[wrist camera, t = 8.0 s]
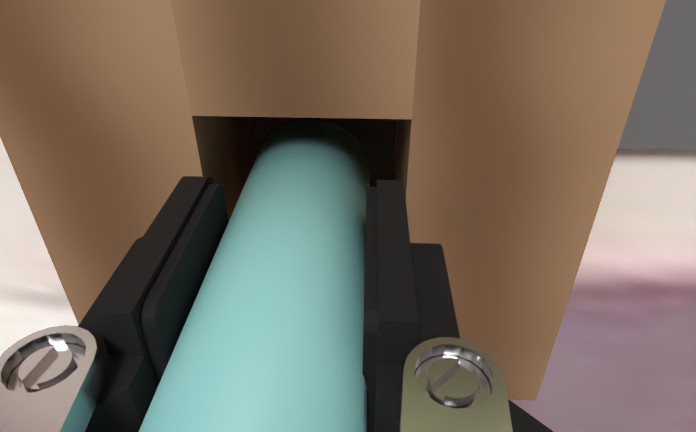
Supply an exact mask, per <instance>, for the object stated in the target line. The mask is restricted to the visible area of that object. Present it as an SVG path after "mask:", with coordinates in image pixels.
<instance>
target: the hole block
mask: <svg viewBox="0 0 696 432" xmlns="http://www.w3.org/2000/svg"><path fill="white" fill-rule="evenodd" d="M665 2H666V0H0V137H1V139H2V142H3V144H4V147H5V149H6V151H7V154H8V156H9V159H10V161H11V163H12V166H13V168H14V171H15V173H16V175H17V178H18V180H19V183H20V185H21V187H22V190H23V192H24V195H25V197H26V199H27V202H28V204H29V207H30V209H31V211H32V214H33V216H34V219H35V221H36V223H37V226H38V228H39V231H40V233H41V235H42V238H43V240H44V243H45V245H46V247H47V250H48V252H49V255H50V257H51V259H52V262H53V264H54V267H55V269H56V271H57V274H58V276H59V279H60V281H61V283H62V286H63V288H64V291H65V293H66V295H67V298H68V300H69V303H70V305H71V307H72V310H73V312H74V315H75V317H76V319H77V322H78V324H80V322H81V321H82V319H83V318H84V316H85V315H86V313H87V312H88V310H89V309H90V307H91V306H92V304H93V303H94V301H95V300H96V298H97V297H98V295H99V294H100V292H101V291H102V289H103V288H104V286H105V285H106V283H107V282H108V281H109V279H110V278H111V276H112V275H113V273H114V272H115V270H116V269H117V267H118V266H119V264H120V263H121V261H122V260H123V258H124V257H125V255H126V254H127V252H128V251H129V249H130V248H131V246H132V245H133V243H134V242H135V241H136V240H137V239H138V238H140V237H143V236H144V234H145V233H146V231H147V230H148V228H149V227H150V225H151V224H152V222H153V220H154V219H155V217H156V216H157V214H158V213H159V211H160V210H161V208H162V207H163V205H164V204H165V202H166V201H167V199H168V198H169V196H170V195H171V193H172V192H173V190H174V188H175V187H176V185H177V184H178V182H179V181H180V179H181V178H182V177H183V176H200V177H212V178H213V180H214V183H215V184H221V185H222V186H223V189H224V195H225V201H226V208H227V214H228V220H230V218H231V215H232V213H233V211H234V208H235V206H236V204H237V201H238V199H239V197H240V194H241V192H242V190H243V187H244V185H245V183H246V180H247V178H248V176H249V173H250V171H251V169H252V166H253V164H254V162H255V160H256V149H255V140H254V131H253V122H252V117H294V118H355V119H397V125H396V142H395V160H394V178H393V180H403V181H404V189H405V199H406V208H407V218H408V227H409V237H410V243H435V244H441V245H442V248H443V252H444V257H445V262H446V267H447V273H448V278H449V283H450V288H451V293H452V298H453V304H454V309H455V314H456V319H457V324H458V329H459V335H460V339H463V340H467V341H469V342H471V343H473V344H476V345H478V346H480V347H481V348H483V349H484V350H485V351H486V352H488V353H489V354H490V355H492V356H493V358H494V359H495V360H496V362H497V363H498V364H499V366H500V367H501V370H502V373H503V376H504V379H505V384H506V390H507V397H508V399H515V400H536V397H537V394H538V391H539V388H540V385H541V382H542V379H543V375H544V372H545V369H546V366H547V363H548V360H549V357H550V354H551V351H552V348H553V345H554V342H555V339H556V336H557V333H558V330H559V327H560V323H561V320H562V317H563V314H564V311H565V308H566V305H567V302H568V299H569V296H570V293H571V290H572V287H573V284H574V281H575V278H576V274H577V271H578V268H579V265H580V262H581V259H582V256H583V253H584V250H585V247H586V244H587V241H588V238H589V235H590V232H591V229H592V225H593V222H594V219H595V216H596V213H597V210H598V207H599V204H600V201H601V198H602V195H603V192H604V189H605V186H606V183H607V180H608V176H609V173H610V170H611V167H612V164H613V161H614V158H615V155H616V152H617V149H618V146H619V143H620V140H621V137H622V134H623V131H624V128H625V124H626V121H627V118H628V115H629V112H630V109H631V106H632V103H633V100H634V97H635V94H636V91H637V88H638V85H639V82H640V79H641V75H642V72H643V69H644V66H645V63H646V60H647V57H648V54H649V51H650V48H651V45H652V42H653V39H654V36H655V33H656V30H657V26H658V23H659V20H660V17H661V14H662V11H663V8H664V5H665Z"/></svg>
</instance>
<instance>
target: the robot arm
mask: <svg viewBox="0 0 696 432" xmlns="http://www.w3.org/2000/svg"><path fill="white" fill-rule="evenodd" d="M228 222H229V220H228V214H227V208H226V201H225V195H224V189H223V186H222V185H221V184H215V183H214V180H213V178H212V177H200V176H183V177H182V178H181V179H180V181H179V182H178V184H177V185H176V187H175V188H174V190H173V192H172V193H171V195H170V196H169V198H168V199H167V201H166V202H165V204H164V205H163V207H162V208H161V210H160V211H159V213H158V214H157V216H156V217H155V219H154V220H153V222H152V224H151V225H150V227H149V228H148V230H147V231H146V233H145V234H144V236H143V237H140V238H138V239H137V240H136V241H135V242H134V243H133V245H132V246H131V248H130V249H129V251H128V252H127V254H126V255H125V257H124V258H123V260H122V261H121V263H120V264H119V266H118V267H117V269H116V270H115V272H114V273H113V275H112V276H111V278H110V279H109V281H108V282H107V283H106V285H105V286H104V288H103V289H102V291H101V292H100V294H99V295H98V297H97V298H96V300H95V301H94V303H93V304H92V306H91V307H90V309H89V310H88V312H87V313H86V315H85V316H84V318H83V319H82V321H81V322H80V324H79V325H78V327H77V326H58V327H51V328H47V329H44V330H41V331H38V332H35V333H32V334H31V335H29V336H27V337H25V338H23V339H21V340H19V341H18V342H16V343H15V344H14V345H12V346H11V347H10V348H8V349H7V350H6V351H4V353H3V354H2V355H1V356H0V432H139V430H140V427H141V425H142V423H143V420H144V418H145V416H146V413H147V411H148V409H149V406H150V404H151V402H152V399H153V397H154V395H155V392H156V390H157V388H158V385H159V383H160V381H161V378H162V376H163V374H164V371H165V369H166V367H167V364H168V362H169V360H170V357H171V355H172V353H173V350H174V348H175V346H176V343H177V341H178V339H179V336H180V334H181V332H182V329H183V327H184V325H185V322H186V320H187V318H188V315H189V313H190V311H191V308H192V306H193V304H194V302H195V299H196V297H197V295H198V292H199V290H200V288H201V285H202V283H203V281H204V278H205V276H206V274H207V271H208V269H209V267H210V264H211V262H212V260H213V257H214V255H215V253H216V250H217V248H218V246H219V243H220V241H221V239H222V236H223V234H224V232H225V229H226V227H227V225H228ZM362 374H363V376H364V378H365V382H366V386H367V432H553V431H552V430H550V429H549V428H548V427H546V426H545V425H543V424H542V423H541V422H539V421H538V420H536V419H535V418H534V417H532V416H531V415H529V414H528V413H527V412H525V411H524V410H522V409H521V408H520V407H518V406H517V405H516V404H514V403H513V402H511V401H510V400H509V399H508V397H507V390H506V384H505V379H504V376H503V373H502V370H501V367H500V366H499V364H498V363H497V362H496V360H495V359H494V358H493V356H492V355H490V354H489V353H488V352H486V351H485V350H484V349H483V348H481V347H480V346H478V345H476V344H473V343H471V342H469V341H467V340H463V339H460V335H459V329H458V324H457V319H456V314H455V309H454V304H453V298H452V293H451V288H450V283H449V278H448V273H447V267H446V262H445V257H444V252H443V248H442V245H441V244H435V243H410V237H409V227H408V218H407V208H406V199H405V189H404V181H403V180H377V187H366V230H365V276H364V323H363V370H362Z"/></svg>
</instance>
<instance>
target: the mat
mask: <svg viewBox="0 0 696 432" xmlns="http://www.w3.org/2000/svg"><path fill="white" fill-rule="evenodd" d="M618 149H648V150H696V0H666V2H665V5H664V8H663V11H662V14H661V17H660V20H659V23H658V26H657V30H656V33H655V36H654V39H653V42H652V45H651V48H650V51H649V54H648V57H647V60H646V63H645V66H644V69H643V72H642V75H641V79H640V82H639V85H638V88H637V91H636V94H635V97H634V100H633V103H632V106H631V109H630V112H629V115H628V118H627V121H626V124H625V128H624V131H623V134H622V137H621V140H620V143H619V146H618Z"/></svg>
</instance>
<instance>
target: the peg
mask: <svg viewBox="0 0 696 432" xmlns="http://www.w3.org/2000/svg"><path fill="white" fill-rule="evenodd" d="M366 187H370V170H369V163H368V159H367V156H366V153H365V152H364V150H363V148H362V146H361V145H360V143H359V142H358V141H357V140H356V139H355V138H354V137H353V136H352V135H351V134H350V133H349V132H347V131H346V130H344V129H343V128H341V127H339V126H337V125H335V124H333V123H330V122H327V121H322V120H315V119H304V120H297V121H293V122H290V123H287V124H285V125H283V126H281V127H279V128H278V129H276V130H275V131H273V132H272V133H271V134H270V135H269V136H268V137H267V138H266V140H265V141H264V143H263V144H262V146H261V148H260V150H259V153H258V155H257V157H256V160H255V162H254V164H253V166H252V169H251V171H250V173H249V176H248V178H247V180H246V183H245V185H244V187H243V190H242V192H241V194H240V197H239V199H238V201H237V204H236V206H235V208H234V211H233V213H232V215H231V218H230V220H229V222H228V225H227V227H226V229H225V232H224V234H223V236H222V239H221V241H220V243H219V246H218V248H217V250H216V253H215V255H214V257H213V260H212V262H211V264H210V267H209V269H208V271H207V274H206V276H205V278H204V281H203V283H202V285H201V288H200V290H199V292H198V295H197V297H196V299H195V302H194V304H193V306H192V308H191V311H190V313H189V315H188V318H187V320H186V322H185V325H184V327H183V329H182V332H181V334H180V336H179V339H178V341H177V343H176V346H175V348H174V350H173V353H172V355H171V357H170V360H169V362H168V364H167V367H166V369H165V371H164V374H163V376H162V378H161V381H160V383H159V385H158V388H157V390H156V392H155V395H154V397H153V399H152V402H151V404H150V406H149V409H148V411H147V413H146V416H145V418H144V420H143V423H142V425H141V427H140V430H139V432H367V386H366V382H365V378H364V376H363V374H362V370H363V323H364V276H365V230H366Z"/></svg>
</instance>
